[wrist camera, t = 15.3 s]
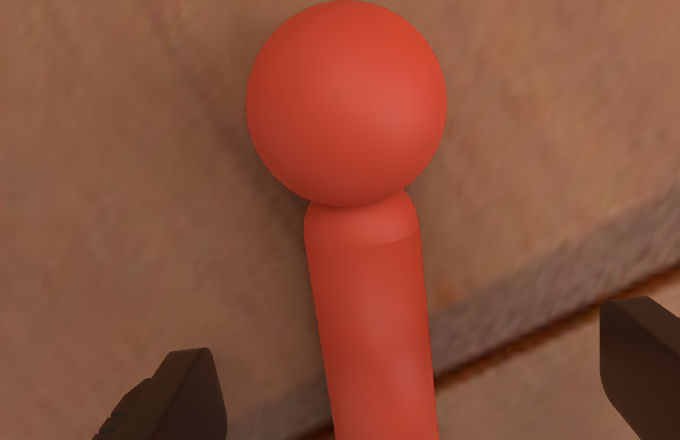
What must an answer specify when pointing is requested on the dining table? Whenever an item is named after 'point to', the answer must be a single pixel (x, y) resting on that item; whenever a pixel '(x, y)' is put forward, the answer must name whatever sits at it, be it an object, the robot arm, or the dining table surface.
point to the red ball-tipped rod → (357, 199)
